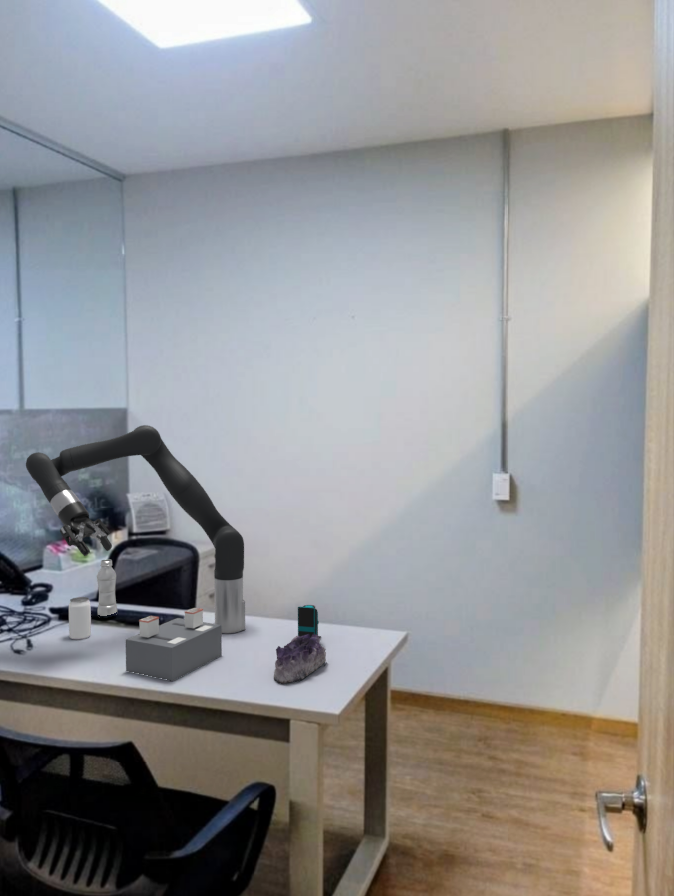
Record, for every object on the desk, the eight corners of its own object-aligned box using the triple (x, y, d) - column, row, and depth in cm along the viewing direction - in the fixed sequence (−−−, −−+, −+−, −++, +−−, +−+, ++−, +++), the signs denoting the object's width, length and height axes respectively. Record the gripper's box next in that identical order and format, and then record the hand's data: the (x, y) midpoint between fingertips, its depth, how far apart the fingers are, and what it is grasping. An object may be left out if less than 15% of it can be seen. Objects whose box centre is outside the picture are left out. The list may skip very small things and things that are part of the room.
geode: (305, 688, 180) (300, 650, 180) (265, 688, 184) (260, 651, 184) (333, 659, 199) (328, 625, 198) (296, 660, 203) (291, 626, 203)
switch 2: (184, 627, 200) (184, 611, 200) (194, 622, 204) (194, 607, 204) (193, 628, 199) (193, 612, 199) (203, 624, 203) (203, 608, 203)
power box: (126, 671, 191) (125, 638, 191) (178, 647, 211) (177, 617, 211) (172, 681, 184) (171, 647, 184) (221, 655, 204) (221, 624, 204)
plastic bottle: (121, 615, 244) (120, 559, 243) (109, 621, 238) (108, 563, 237) (105, 614, 246) (104, 557, 245) (93, 619, 240) (92, 561, 239)
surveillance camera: (324, 599, 220) (314, 608, 210) (324, 637, 220) (314, 647, 211) (307, 598, 221) (297, 606, 212) (307, 635, 222) (297, 646, 212)
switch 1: (139, 636, 192) (139, 619, 192) (150, 631, 196) (150, 615, 196) (148, 637, 191) (147, 621, 191) (159, 633, 195) (158, 617, 195)
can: (83, 640, 218) (83, 602, 217) (65, 639, 219) (64, 601, 218) (95, 634, 224) (94, 597, 223) (76, 632, 225) (76, 596, 225)
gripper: (56, 503, 197) (86, 547, 193) (94, 498, 210) (123, 539, 206) (43, 520, 200) (72, 564, 196) (81, 514, 213) (110, 555, 208)
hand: (98, 551), depth 201 cm, fingers open, 8 cm apart
